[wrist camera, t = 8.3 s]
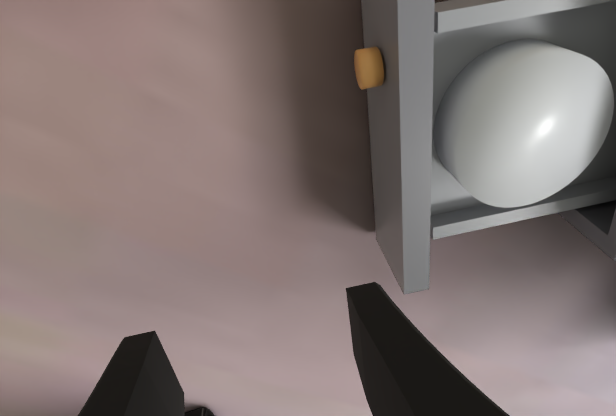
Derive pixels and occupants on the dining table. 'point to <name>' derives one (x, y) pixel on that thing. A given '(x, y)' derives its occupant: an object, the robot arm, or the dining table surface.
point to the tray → (426, 100)
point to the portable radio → (200, 412)
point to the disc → (523, 121)
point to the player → (596, 224)
